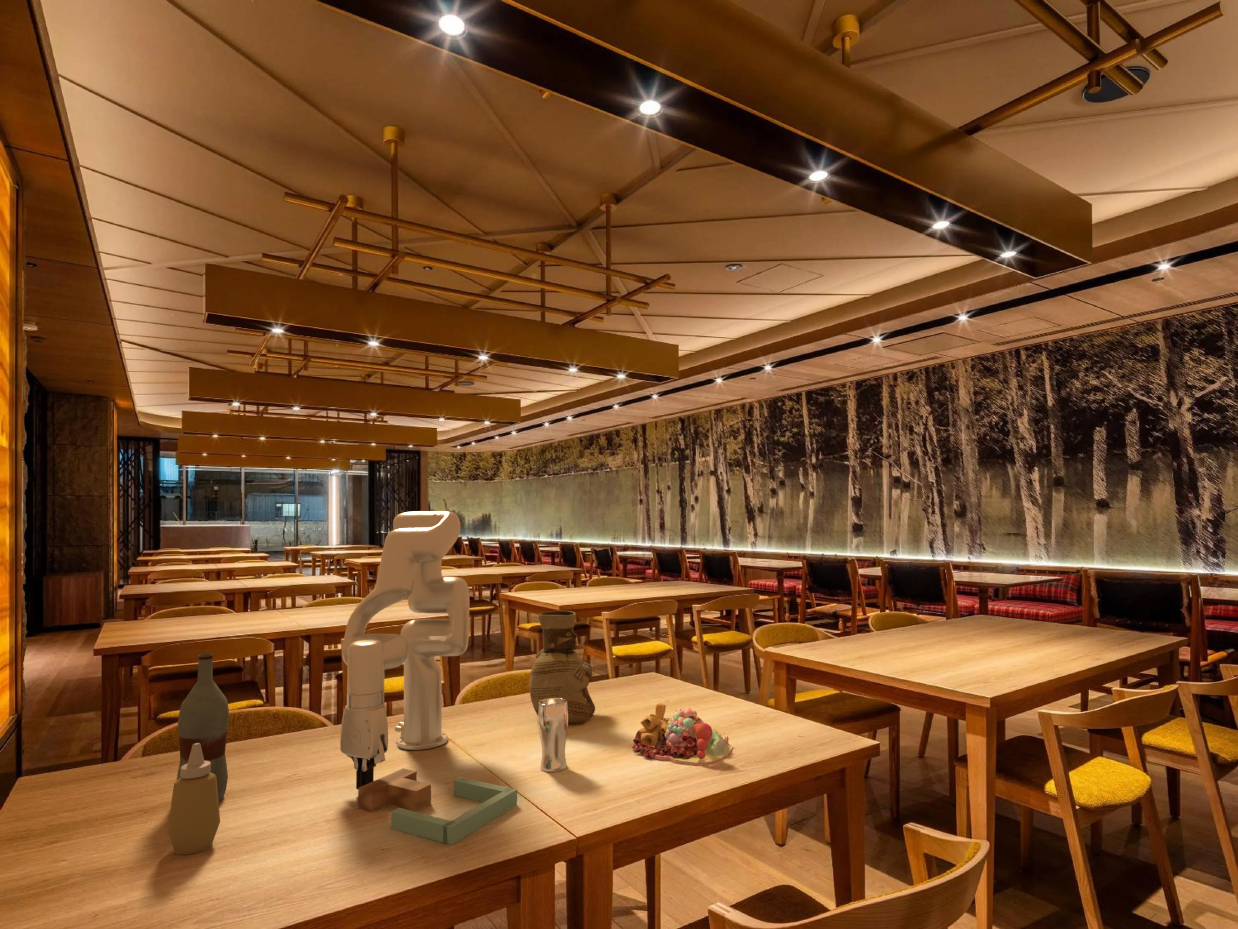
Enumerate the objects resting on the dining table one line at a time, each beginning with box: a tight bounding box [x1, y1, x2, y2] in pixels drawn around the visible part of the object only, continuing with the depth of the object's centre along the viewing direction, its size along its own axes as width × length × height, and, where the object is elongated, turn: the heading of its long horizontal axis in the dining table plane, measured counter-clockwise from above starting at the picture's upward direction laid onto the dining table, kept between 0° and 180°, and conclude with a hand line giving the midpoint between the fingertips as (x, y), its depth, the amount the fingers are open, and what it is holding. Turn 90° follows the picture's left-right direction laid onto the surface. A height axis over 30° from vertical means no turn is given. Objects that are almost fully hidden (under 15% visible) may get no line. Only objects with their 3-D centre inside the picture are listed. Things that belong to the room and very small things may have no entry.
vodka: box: [175, 652, 230, 802], centre depth 144 cm, size 9×9×30 cm
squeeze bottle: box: [167, 743, 221, 855], centre depth 123 cm, size 8×8×18 cm
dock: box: [390, 776, 518, 846], centre depth 134 cm, size 15×19×3 cm
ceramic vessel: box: [528, 610, 596, 726], centre depth 199 cm, size 19×21×30 cm
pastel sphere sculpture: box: [631, 703, 733, 766], centre depth 172 cm, size 25×24×9 cm
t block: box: [357, 768, 432, 813], centre depth 141 cm, size 12×12×4 cm
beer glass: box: [537, 698, 569, 773], centre depth 159 cm, size 7×7×15 cm
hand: (364, 787), depth 146 cm, fingers closed
